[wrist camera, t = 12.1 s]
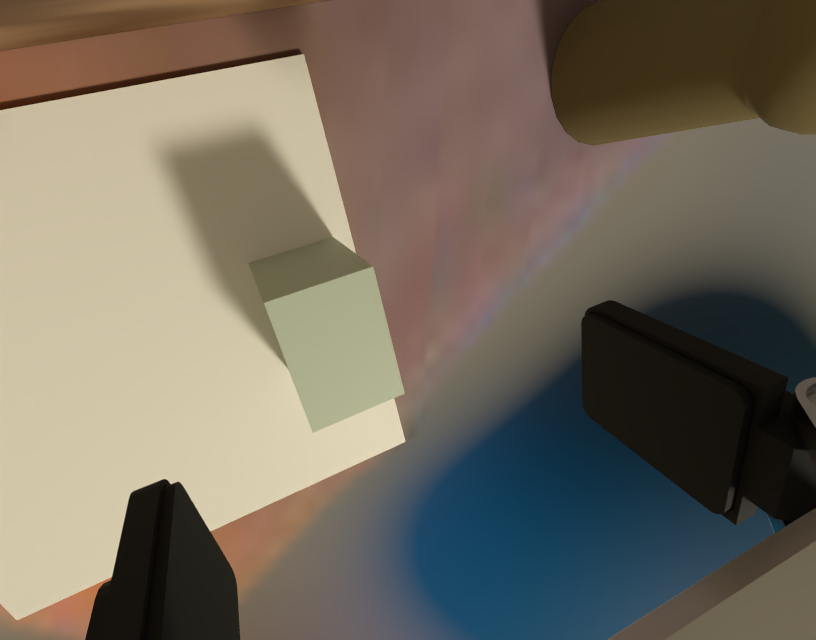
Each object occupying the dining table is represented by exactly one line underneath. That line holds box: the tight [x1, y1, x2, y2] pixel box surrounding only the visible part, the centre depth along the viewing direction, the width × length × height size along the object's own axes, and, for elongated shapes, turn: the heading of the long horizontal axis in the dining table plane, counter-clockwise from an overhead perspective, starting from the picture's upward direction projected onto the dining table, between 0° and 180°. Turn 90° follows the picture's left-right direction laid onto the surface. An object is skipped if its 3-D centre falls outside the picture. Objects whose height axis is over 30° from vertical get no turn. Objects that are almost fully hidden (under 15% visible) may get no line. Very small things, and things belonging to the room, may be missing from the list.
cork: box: [551, 0, 816, 145], centre depth 17 cm, size 6×6×11 cm
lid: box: [0, 54, 405, 620], centre depth 16 cm, size 18×18×6 cm
